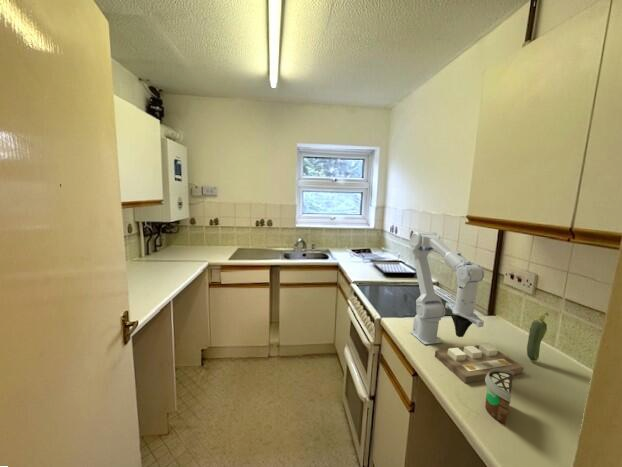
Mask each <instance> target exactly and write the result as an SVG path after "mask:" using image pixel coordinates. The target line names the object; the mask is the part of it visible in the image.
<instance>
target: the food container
mask: <svg viewBox="0 0 622 467" xmlns="http://www.w3.org/2000/svg"><path fill="white" fill-rule="evenodd" d="M514 376H515V375H514V372H512V371H509V370H505V369H492V370H490V371H489V372H488V374H487V376H486V377H485V380H484V383H485V385H486V394H485V395H486V396H485V406H484V407H485V409H486V411H487V412H486V413H488V414H489V416H490V417H491V418H493V419H494V421H497V423H499V424H501V425H502V426H506V424H507V418H508V413H509V408H510V404H511V399H512V388H513V387H512V386H513V380H514Z"/></svg>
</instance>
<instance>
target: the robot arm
mask: <svg viewBox="0 0 622 467" xmlns="http://www.w3.org/2000/svg"><path fill="white" fill-rule="evenodd" d="M409 243H410V249H411V253H412V257H413V261H414V266H415V272H416V277H417V282H418V286H419V287H418V288H419V293H420V295H419V297H418V298H417V299H416V300H415V304H416V306H415V307H416V308H415V312H416V315H415V316H414V318H413V321H412V322H413V323H412V331H411V330H410V334H412V335H413V336H414V337H415V338H416V339H417V340H418V341H420V342H421V343H422V344H423V345H433V344H441V343H442V341H441V340H440V339H439V338H438V337H437V336H438V331H439V325H440V324H439V323H440V321H442V318H444V316H445V315H446V309H448V310H451V312H452V314H451V316H450V317H451V319H452V321H453V325H454V330H455V335H456V337H458V338H463V337H464V336H465V334H466V333H467V331H468V329H469V328H470V326H471V325H473V324H474V325H475V327H477V328H483V327H484V324H485V321H484V320H482V319H481V318H480V317H479V316H478V315H477V314H475V305H476V301H477V293H478V288H479V287H478V286H479V282H482V281H483V280H484V278H485V272H484V269H483V267H482V266H481V265H480V264H476V263H472V262H471V261H470V260H468V259H467V258H466V257H465V256H464V255H462V252H460V251H457V250H453V251H452V250H451V249H450V247H449V246H447V245H446V243H444V241H443V240H441V236H440V235H439V234H438V233H436V232H433V231H432V232H418V231H415V232H413V233H412V234H411V236H410V239H409ZM433 251H435V252H437V253H438V254H440V255H441V256H442V257H443V258H444V263H445V264H446V265H447V266H448V267H449V268H451V269H452V271H454V273H455V276H456V284H457V290H456V297H455V303H452V302H445V305H444V304H443V301H442V299H441V298H442V297H440V296H438V295H437V294H436V293H435V287H434V283H433V279H432V273H431V270H430V269H431V268H430V263H429V259H428V255H429V254H430V253H432V252H433Z"/></svg>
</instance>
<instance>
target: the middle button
mask: <svg viewBox="0 0 622 467" xmlns="http://www.w3.org/2000/svg"><path fill="white" fill-rule="evenodd" d="M474 346H475V345H467V346H466V345H465V346H463V347H464V351H463V352H464V353H465V354H466V355H468V356H469V357H470V358H472V359H477V358H481V357H482V352H481V351H480V350H479V349H477V348H476V347H474Z"/></svg>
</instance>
